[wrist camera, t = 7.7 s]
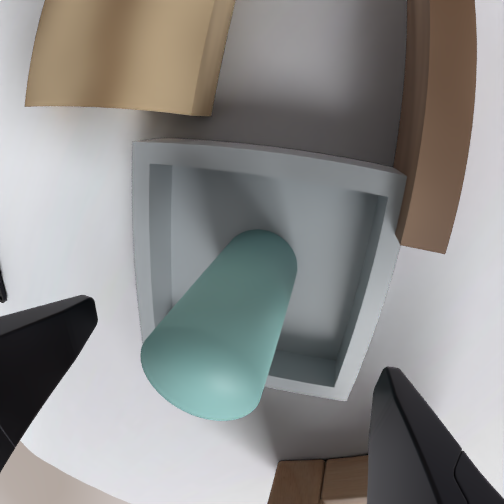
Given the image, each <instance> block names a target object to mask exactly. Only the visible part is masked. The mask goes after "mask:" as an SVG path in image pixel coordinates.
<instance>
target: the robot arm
mask: <svg viewBox="0 0 504 504" xmlns="http://www.w3.org/2000/svg"><path fill="white" fill-rule="evenodd" d="M5 301H7V297H6V294H5V290H4V286H3V282H2V278H1V274H0V302H1V303H4V302H5ZM97 322H98V317H97V312H96V307H95V301H94V299H93V298H91V297H89V296H86V295H79V296H76V297H72V298H68V299H64V300H61V301H57V302H53V303H50V304H46V305H42V306H38V307H35V308H31V309H27V310H24V311H20V312H16V313H13V314H9V315H5V316H1V317H0V472H1V470H2V469H3V467H4V465H5V464H6V462H7V460H8V459H9V457H10V456H11V454H12V452H13V451H14V449H15V447H16V446H17V444H18V443H19V441H20V439H21V438H22V436H23V435H24V433H25V432H26V430H27V429H28V427H29V426H30V424H31V423H32V421H33V420H34V418H35V417H36V415H37V414H38V412H39V411H40V409H41V408H42V406H43V405H44V403H45V402H46V400H47V399H48V398H49V396H50V395H51V393H52V392H53V390H54V389H55V388H56V386H57V385H58V383H59V382H60V381H61V379H62V378H63V376H64V375H65V374H66V372H67V371H68V370H69V368H70V367H71V365H72V364H73V363H74V361H75V360H76V358H77V357H78V355H79V353H80V352H81V350H82V348H83V347H84V345H85V343H86V342H87V340H88V338H89V337H90V335H91V333H92V332H93V330H94V329H95V327H96V325H97ZM367 504H504V499H503V497H502V496H501V495H500V494H499V493H498V492H497V491H496V490H495V489H494V488H493V486H492V485H491V484H490V483H489V482H488V481H487V480H486V478H485V477H484V476H483V475H482V474H481V473H480V471H479V470H478V469H477V468H476V466H475V465H474V464H473V462H472V461H471V460H470V459H469V457H468V456H467V455H466V453H465V452H464V451H462V448H461V447H460V445H459V444H458V443H457V441H456V440H455V439H454V437H453V436H452V435H451V433H450V432H449V431H448V430H447V428H446V427H445V426H444V424H443V423H442V422H441V420H440V419H439V418H438V417H437V415H436V414H435V413H434V411H433V410H432V409H431V408H430V406H429V405H428V404H427V402H426V401H425V400H424V399H423V397H422V396H421V395H420V394H419V392H418V391H417V390H416V389H415V387H414V386H413V385H412V384H411V382H410V381H409V380H408V379H407V377H406V376H405V375H404V374H403V372H402V371H401V370H400V369H399V368H395V367H385V368H384V369H383V371H382V373H381V375H380V377H379V380H378V382H377V384H376V386H375V389H374V393H373V403H372V413H371V423H370V432H369V445H368V489H367Z"/></svg>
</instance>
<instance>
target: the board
mask: <svg viewBox="0 0 504 504" xmlns="http://www.w3.org/2000/svg"><path fill="white" fill-rule="evenodd" d="M235 1H236V0H45V2H44V6H43V9H42V13H41V17H40V20H39V24H38V29H37V33H36V37H35V42H34V47H33V52H32V57H31V63H30V69H29V75H28V82H27V90H26V98H25V107H31V106H81V107H105V108H122V109H135V110H146V111H157V112H166V113H175V114H183V115H190V116H211V114H212V109H213V103H214V98H215V93H216V88H217V83H218V77H219V73H220V68H221V63H222V58H223V53H224V49H225V44H226V39H227V35H228V30H229V26H230V22H231V17H232V13H233V9H234V5H235Z"/></svg>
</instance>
